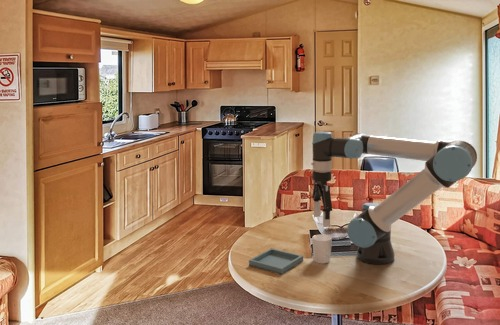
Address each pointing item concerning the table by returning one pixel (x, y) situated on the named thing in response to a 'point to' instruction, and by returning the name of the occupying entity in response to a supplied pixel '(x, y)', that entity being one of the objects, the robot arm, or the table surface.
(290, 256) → the slate tray
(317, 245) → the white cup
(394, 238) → the table surface
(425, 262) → the table surface
